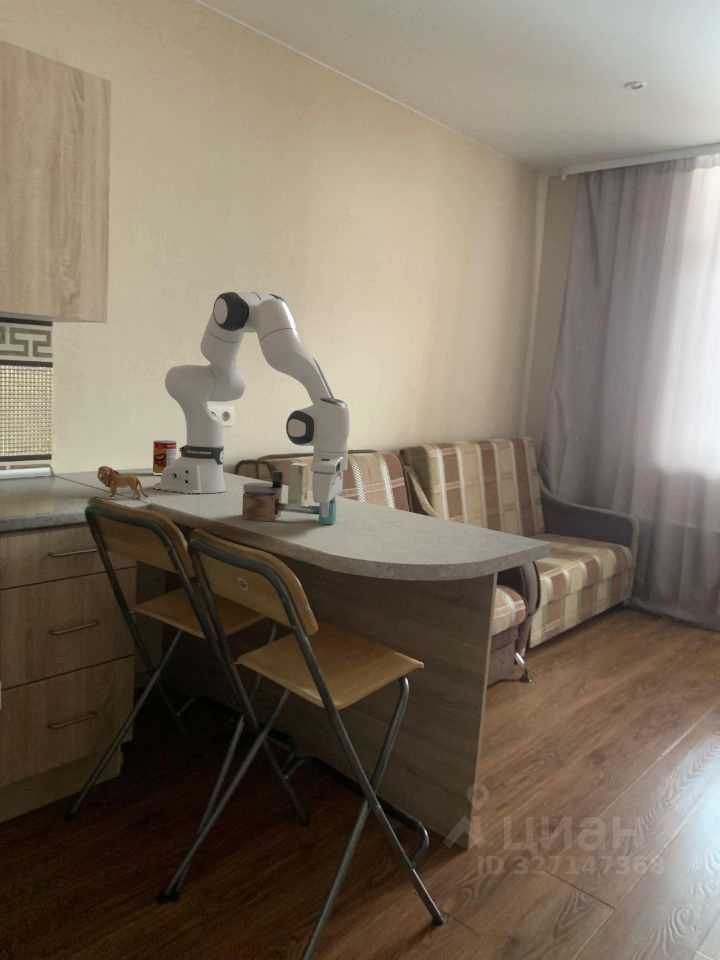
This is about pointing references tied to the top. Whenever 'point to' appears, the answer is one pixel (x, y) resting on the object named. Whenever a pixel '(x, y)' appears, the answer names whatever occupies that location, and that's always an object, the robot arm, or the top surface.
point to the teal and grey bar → (309, 510)
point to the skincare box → (298, 484)
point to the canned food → (163, 454)
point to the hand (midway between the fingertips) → (327, 515)
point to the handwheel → (266, 486)
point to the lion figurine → (119, 481)
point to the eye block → (260, 507)
